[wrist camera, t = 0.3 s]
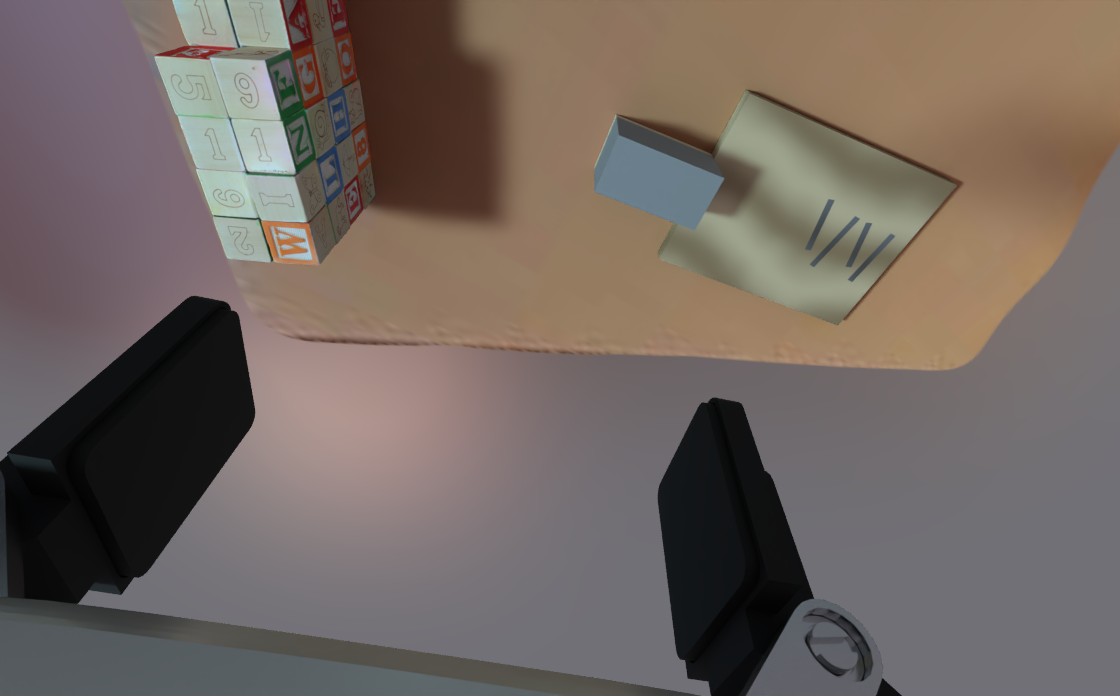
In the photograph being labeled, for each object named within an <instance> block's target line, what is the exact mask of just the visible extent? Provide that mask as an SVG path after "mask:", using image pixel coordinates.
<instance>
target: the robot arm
mask: <svg viewBox="0 0 1120 696" xmlns="http://www.w3.org/2000/svg"><path fill="white" fill-rule="evenodd" d="M254 418H255V406H254V400H253V395H252V389H251V383H250V377H249V372H248V366H247V360H246V354H245V350H244V343H243V337H242V331H241V326H240V320H239V316H238V314H237V312H235V311H231V308H230V306H229V304H228V303H226V302H224V301H219V300H214V299H209V298H204V297H198V296H191V297H189V298H187V299H186V300H185V301H184V302H182V303H181V304H180V305H179V306H178V307H176V308H175V309H174V310H173V311H172V312H171V313H170V314H168V315H167V316H166V317H165V318H164V319H162V320H161V321H160V322H159V323H158V324H157V325H155V326H154V327H153V328H152V329H151V330H150V331H148V332H147V333H146V334H145V335H144V336H143V337H141V339H139V340H138V341H137V342H136V343H134V344H133V345H132V346H131V347H130V348H129V349H127V350H126V351H125V352H124V353H123V354H122V355H121V356H119V357H118V358H117V359H116V360H115V361H113V362H112V363H111V364H110V365H109V366H108V367H107V368H105V369H104V370H103V371H102V372H101V373H99V374H98V375H97V376H96V377H95V378H94V379H92V380H91V381H90V382H89V383H88V384H87V385H85V386H84V387H83V388H82V389H81V390H80V391H79V392H77V393H76V394H75V395H74V396H73V397H71V398H70V399H69V400H68V401H67V402H66V403H65V404H63V405H62V406H61V407H60V408H59V409H58V410H56V411H55V412H54V413H53V414H52V415H50V416H49V417H48V418H47V419H46V420H45V421H43V422H42V423H41V424H40V425H39V426H38V427H36V428H35V429H34V430H33V431H32V432H31V433H30V434H29V435H27V436H26V437H25V438H24V439H22V440H21V441H20V442H19V443H18V444H17V445H15V446H14V447H13V448H12V449H11V450H10V451H9V452H7V454H8V455H7V456H6V457H5V458H4V459H3V460H2V461H0V696H698V695H694V694H689V693H682V692H677V691H671V690H665V689H659V688H653V687H648V686H642V685H636V684H629V683H624V682H617V681H612V680H606V679H599V678H593V677H586V676H579V675H573V674H566V673H559V672H553V671H546V670H539V669H533V668H526V667H519V666H513V665H506V664H500V663H493V662H485V661H479V660H473V659H466V658H459V657H453V656H446V655H439V654H432V653H425V652H418V651H411V650H405V649H397V648H391V647H384V646H377V645H370V644H363V643H356V642H350V641H343V640H336V639H329V638H322V637H315V636H308V635H301V634H294V633H286V632H280V631H272V630H266V629H258V628H252V627H244V626H237V625H230V624H223V623H216V622H208V621H201V620H194V619H187V618H180V617H173V616H166V615H159V614H151V613H144V612H136V611H128V610H120V609H112V608H104V607H96V606H87V605H79V604H78V603H79V602H80V600H81V599H82V598H83V597H84V595H85V594H86V593H87V592H88V590H92V591H99V592H106V593H112V594H119V595H121V594H122V593H123V592H124V590H125V589H126V588H127V586H128V585H129V584H130V582H131V581H132V579H133V578H134V577H138V578H139V577H141V576H143V575H144V574H145V573H146V572H147V571H148V570H149V569H150V568H151V566H152V565H153V563H154V562H155V560H156V559H157V558H158V556H159V555H160V554H161V552H162V551H163V550H164V548H165V547H166V545H167V544H168V543H169V541H170V540H171V538H172V537H173V535H174V534H175V533H176V531H177V530H178V528H179V527H180V525H181V524H182V523H183V521H184V520H185V519H186V517H187V516H188V515H189V513H190V512H191V510H192V509H193V508H194V506H195V505H196V503H197V502H198V500H199V499H200V498H201V496H202V495H203V494H204V492H205V491H206V489H207V488H208V487H209V485H210V484H211V482H212V481H213V480H214V478H215V477H216V475H217V474H218V473H219V471H220V470H221V468H222V467H223V466H224V464H225V463H226V462H227V460H228V459H229V457H230V456H231V455H232V453H233V452H234V450H235V449H236V448H237V446H238V444H239V443H240V442H241V441H242V439H243V438H244V436H245V435H246V433H247V432H248V431H249V429H250V428H251V426H252V424H253V421H254ZM658 505H659V514H660V522H661V530H662V539H663V547H664V555H665V563H666V571H667V579H668V588H669V595H670V604H671V612H672V620H673V628H674V636H675V645H676V651H677V655H678V657H679V658H680V659H682V660H685V662H686V669H687V677H688V679H695V680H702V681H709V687H710V693H711V696H902V695H900V694H899V693H898V692H897V691H896V690H895V689H894V688H893V687H892V686H890V685H889V684H888V683H887V682H886V681H885V680H884V679H883V678H882V673H883V664H882V659H881V655H880V652H879V650H878V648H877V645H876V643H875V642H874V639H873V638H872V636H871V635H870V634H869V632H868V631H867V630H866V629H865V627H864V626H863V624H862V623H860V622H859V621H858V620H857V619H856V618H855V617H854V616H853V615H852V614H851V613H849V612H848V611H846V610H845V609H843V608H842V607H840V606H839V605H837V604H834V603H831V602H829V601H826V600H820V599H814V597H813V594H812V591H811V588H810V586H809V583H808V580H807V577H806V574H805V571H804V568H803V565H802V562H801V559H800V557H799V554H798V551H797V548H796V545H795V542H794V539H793V536H792V534H791V531H790V528H789V525H788V522H787V519H786V516H785V513H784V510H783V507H782V504H781V502H780V499H779V496H778V493H777V490H776V487H775V484H774V481H773V479H772V478H771V475H770V474H769V473H767V472H766V471H764V468H763V465H762V462H761V459H760V456H759V453H758V450H757V447H756V444H755V441H754V438H753V435H752V432H751V429H750V426H749V423H748V420H747V417H746V414H745V411H744V408H743V406H742V404H741V403H739V402H735V401H730V400H725V399H719V398H712V399H710V401H709V402H708V403H701V404H700V405H699V407H698V409H697V411H696V413H695V415H694V417H693V419H692V421H691V423H690V425H689V427H688V429H687V431H686V433H685V435H684V437H683V439H682V441H681V443H680V445H679V447H678V449H677V451H676V453H675V455H674V457H673V459H672V461H671V463H670V465H669V467H668V469H667V471H666V473H665V475H664V477H663V479H662V481H661V483H660V486H659V490H658Z"/></svg>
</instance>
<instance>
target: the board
mask: <svg viewBox="0 0 1120 696" xmlns="http://www.w3.org/2000/svg"><path fill="white" fill-rule="evenodd" d="M712 156H713V158H714V160H715V162H716V164H717V165H718V167H719V169H720V171H721V173H722V175H723V176H724V180H723V182H722V184H721V185H720V187H719V189H718V191H717V192H716V194H715V196H714V198H713V199H712V201H711V203H710V205H709V206H708V208H707V210H706V212H705V213H704V215H703V217H702V219H701V220H700V222H699V224H698V226H697V227H696V229H695V230H692V229H689V228H687V227H684V226H682V225H679V224H676V223H674V224H673V226H672V227H671V229H670V231H669V233H668V235H667V237H666V239H665V240H664V242H663V244H662V246H661V248H660V250H659V251H658V256H659V259H660V260H663V261H665V262H668V263H671V264H674V265H676V266H679V267H682V268H684V269H687V270H690V271H692V272H695V273H698V274H700V275H703V276H706V277H709V278H711V279H714V280H717V281H719V282H722V283H725V284H727V285H730V286H733V287H736V288H738V289H741V290H744V291H746V292H749V293H752V294H754V295H757V296H760V297H763V298H765V299H768V300H771V301H773V302H776V303H779V304H781V305H784V306H787V307H789V308H792V309H795V310H798V311H800V312H803V313H806V314H808V315H811V316H814V317H816V318H819V319H822V320H825V321H827V322H830V323H833V324H835V325H839V323H840V322H841V321H842V320H843V319H844V318H845V316H846V315H847V314H848V313H849V312H850V311H851V309H852V308H853V307H854V306H855V305H856V303H857V302H858V301H859V300H860V299H861V298H862V296H863V295H864V294H865V293H866V292H867V291H868V289H869V288H870V287H871V286H872V285H873V284H874V282H875V281H876V280H877V279H878V278H879V277H880V275H881V274H882V273H883V272H884V271H885V269H886V268H887V267H888V266H889V265H890V264H891V262H892V261H893V260H894V259H895V258H896V257H897V255H898V254H899V253H900V252H901V251H902V250H903V248H904V247H905V246H906V245H907V244H908V243H909V241H910V240H911V239H912V238H913V237H914V235H915V234H916V233H917V232H918V231H919V230H920V228H921V227H922V226H923V225H924V224H925V223H926V221H927V220H928V219H929V218H930V217H931V216H932V214H933V213H934V212H935V211H936V210H937V209H938V207H939V206H940V205H941V204H942V203H943V201H944V200H945V199H946V198H947V197H948V196H949V194H950V193H951V192H952V191H953V190H954V189H955V187H956V186H957V185H956V184H954V183H953V182H951V181H950V180H948V179H946V178H944V177H941V176H939V175H937V174H935V173H932V172H930V171H928V170H926V169H923V168H921V167H919V166H917V165H914V164H912V163H910V162H908V161H905V160H903V159H901V158H899V157H896V156H894V155H892V154H890V153H887V152H885V151H883V150H881V149H878V148H876V147H874V146H872V145H869V144H867V143H865V142H863V141H860V140H858V139H856V138H854V137H851V136H849V135H847V134H845V133H842V132H840V131H838V130H836V129H833V128H831V127H829V126H827V125H824V124H822V123H820V122H818V121H815V120H813V119H811V118H809V117H806V116H804V115H802V114H800V113H797V112H795V111H793V110H791V109H788V108H786V107H784V106H782V105H779V104H777V103H775V102H773V101H771V100H768V99H766V98H764V97H762V96H759V95H757V94H755V93H753V92H750V91H748V90H746V91H745V93H744V95H743V96H742V98H741V100H740V102H739V104H738V106H737V107H736V109H735V111H734V113H733V115H732V117H731V119H730V120H729V122H728V124H727V126H726V128H725V130H724V131H723V133H722V135H721V137H720V139H719V141H718V143H717V144H716V146H715V148H714V150H713V152H712Z"/></svg>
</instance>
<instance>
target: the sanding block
mask: <svg viewBox="0 0 1120 696" xmlns="http://www.w3.org/2000/svg"><path fill="white" fill-rule="evenodd" d="M723 180H724V176H723V175H722V173H721V171H720V169H719V167H718V165H717V164H716V162H715V160H714V158H713V156H712V154H711V153H708V152H706V151H703V150H701V149H699V148H696V147H694V146H691V145H689V144H687V143H684V142H682V141H679V140H677V139H675V138H672V137H670V136H667V135H665V134H663V133H660V132H658V131H655V130H653V129H651V128H648V127H646V126H643V125H641V124H639V123H636V122H634V121H631V120H629V119H626V118H624V117H622V116H619V115H617V114H616V116H615V118H614V121H613V123H612V126H611V128H610V131H609V133H608V135H607V138H606V140H605V143H604V145H603V147H602V150H601V152H600V155H599V157H598V160H597V162H596V164H595V192H596V193H599V194H601V195H604V196H606V197H609V198H612V199H614V200H617V201H619V202H622V203H625V204H627V205H630V206H632V207H635V208H638V209H640V210H643V211H645V212H648V213H651V214H653V215H656V216H658V217H661V218H663V219H666V220H669V221H671V222H674V223H676V224H679V225H682V226H684V227H687V228H689V229H692V230H695V229H696V227H697V226H698V224H699V222H700V220H701V219H702V217H703V215H704V213H705V212H706V210H707V208H708V206H709V205H710V203H711V201H712V199H713V198H714V196H715V194H716V192H717V191H718V189H719V187H720V185H721V184H722V182H723Z"/></svg>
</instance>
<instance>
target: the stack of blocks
mask: <svg viewBox="0 0 1120 696" xmlns="http://www.w3.org/2000/svg"><path fill="white" fill-rule="evenodd" d="M172 2H173V5H174V8H175V11H176V14H177V16H178V19H179V22H180V25H181V28H182V31H183V34H184V36H185V38H186V40H187V42H188V43H189V45H190V46H183V47H180V48H177V49H175V50H171V51H167V52H164V53H160V54H157V55H155V56H154V57H155V60H156V63H157V66H158V68H159V71H160V74H161V77H162V79H163V82H164V84H165V87H166V90H167V93H168V95H169V98H170V101H171V103H172V106H173V109H174V111H175V113H176V114H177V115H178V119H179V122H180V125H181V128H182V131H183V134H184V136H185V139H186V142H187V144H188V146H189V149H190V152H191V155H192V158H193V160H194V163H195V165H196V166H197V169H196V171H197V174H198V177H199V179H200V182H201V185H202V187H203V190H204V193H205V196H206V199H207V201H208V204H209V207H210V209H211V212H212V214H213V215H214V218H213V220H214V223H215V226H216V229H217V232H218V234H219V237H220V240H221V243H222V246H223V249H224V251H225V254H226V256H227V258H229V259H237V260H249V261H260V262H272V261H273V260H274V261H275V262H278V263H289V264H304V265H320V264H321V263H322V261H323V260H324V259H325V258H326V256H327V255H328V254H329V252H330V251H331V250H332V248H333V247H334V246H335V245H336V244H338V242H339V241H340V239H342V237H343V236H344V234H346V232H347V231H348V230H349V229H350V226H351V225H352V223H353V222H354V221H355V220H356V219H357V217H358V216H359V215H360V213H361V212H362V210H363V209H365V208H366V207H367V206H368V205H369V204H370V202H371V201H372V199H373V198H374V197H375V189H374V182H373V175H372V168H371V155H370V148H369V141H368V135H367V128H366V122H365V114H364V106H363V100H362V93H361V88H360V81H359V79H358V77H357V70H356V65H355V60H354V52H353V46H352V39H351V33H350V32H349V25H348V19H347V12H346V5H345V0H172Z"/></svg>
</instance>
